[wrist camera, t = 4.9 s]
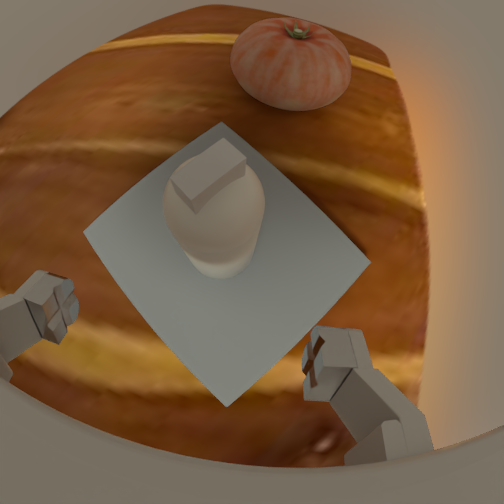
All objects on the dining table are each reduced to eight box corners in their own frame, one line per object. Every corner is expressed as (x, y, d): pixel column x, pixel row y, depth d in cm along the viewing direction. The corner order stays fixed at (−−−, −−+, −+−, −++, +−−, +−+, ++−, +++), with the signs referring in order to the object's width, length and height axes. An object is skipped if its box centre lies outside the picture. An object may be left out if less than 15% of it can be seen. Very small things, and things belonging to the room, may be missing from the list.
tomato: (319, 148, 22) (350, 82, 14) (209, 104, 23) (203, 35, 15) (348, 84, 25) (372, 30, 17) (258, 50, 26) (264, -6, 18)
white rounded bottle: (174, 244, 18) (122, 168, 9) (223, 202, 19) (216, 102, 10) (218, 293, 18) (199, 257, 8) (268, 247, 19) (300, 171, 9)
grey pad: (88, 235, 19) (83, 231, 18) (221, 129, 22) (221, 121, 21) (226, 403, 17) (226, 407, 16) (364, 264, 20) (370, 262, 19)
